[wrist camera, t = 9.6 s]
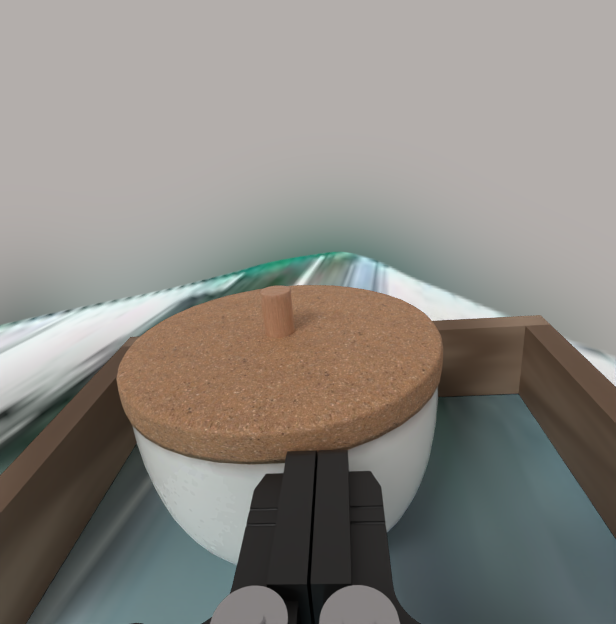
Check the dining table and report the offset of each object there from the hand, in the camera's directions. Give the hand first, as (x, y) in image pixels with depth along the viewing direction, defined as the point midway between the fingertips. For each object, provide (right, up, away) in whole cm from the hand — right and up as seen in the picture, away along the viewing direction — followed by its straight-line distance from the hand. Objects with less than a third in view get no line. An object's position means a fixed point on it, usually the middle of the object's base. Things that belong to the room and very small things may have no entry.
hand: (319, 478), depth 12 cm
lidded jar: (-1, -4, +7) cm, 8 cm away
